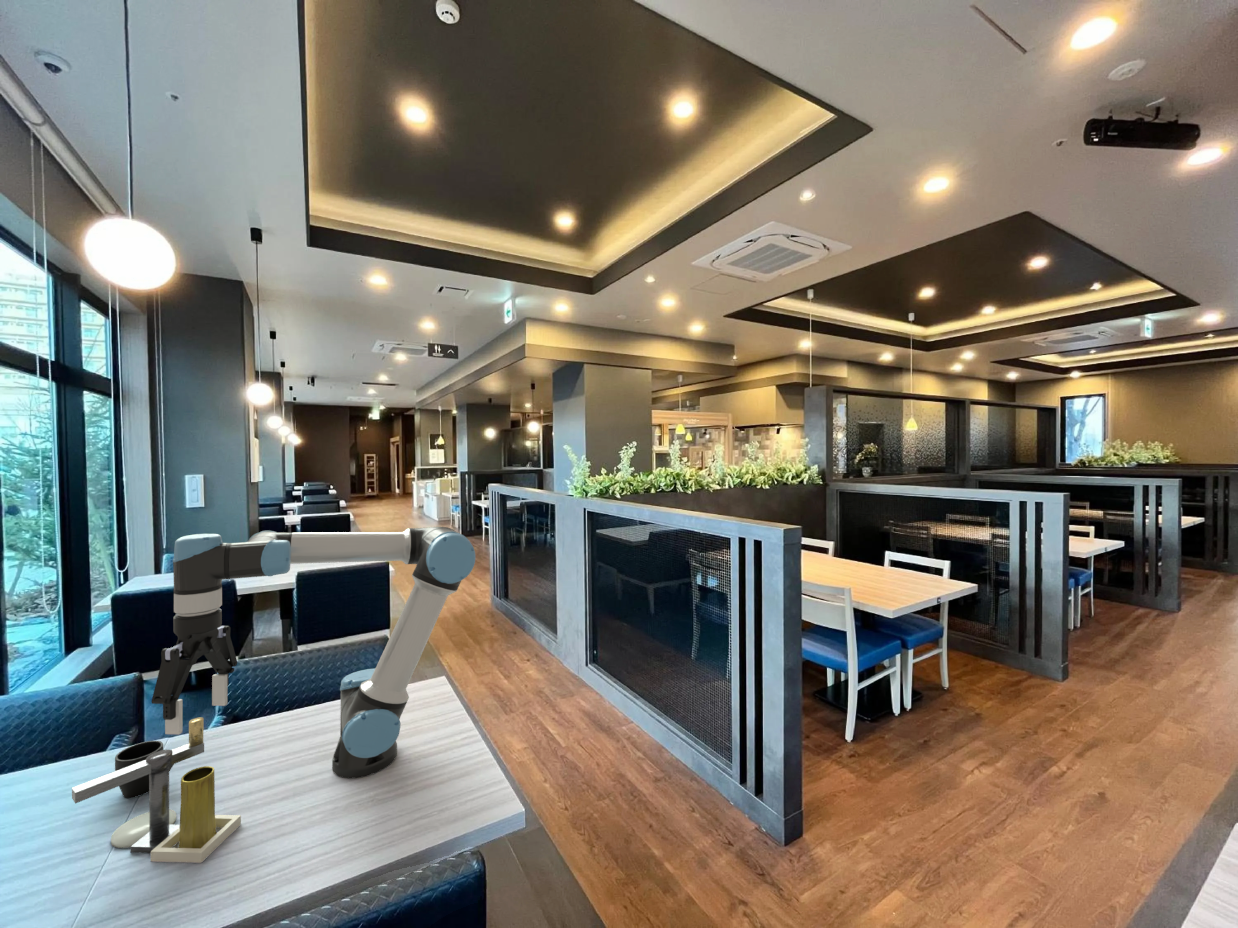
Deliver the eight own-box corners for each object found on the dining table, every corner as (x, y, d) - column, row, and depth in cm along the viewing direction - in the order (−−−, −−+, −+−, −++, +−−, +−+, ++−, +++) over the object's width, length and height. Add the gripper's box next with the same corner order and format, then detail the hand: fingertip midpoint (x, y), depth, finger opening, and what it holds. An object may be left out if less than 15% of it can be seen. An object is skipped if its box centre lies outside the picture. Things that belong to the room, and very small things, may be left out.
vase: (193, 831, 104) (193, 764, 104) (224, 830, 105) (224, 763, 105) (169, 854, 98) (169, 784, 98) (202, 853, 99) (202, 782, 99)
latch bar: (76, 804, 90) (76, 767, 90) (70, 796, 92) (70, 759, 92) (206, 752, 106) (206, 720, 106) (199, 746, 109) (199, 714, 108)
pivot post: (186, 830, 105) (186, 759, 104) (160, 853, 99) (160, 778, 98) (158, 829, 105) (158, 758, 104) (130, 852, 99) (130, 777, 98)
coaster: (188, 812, 110) (188, 809, 110) (145, 848, 100) (145, 844, 100) (144, 811, 110) (144, 808, 110) (96, 847, 100) (96, 843, 100)
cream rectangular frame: (240, 824, 107) (240, 815, 107) (201, 862, 97) (201, 852, 97) (194, 823, 107) (194, 814, 107) (150, 861, 97) (150, 851, 97)
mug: (157, 802, 113) (157, 761, 113) (104, 801, 113) (104, 760, 112) (188, 778, 121) (188, 740, 121) (138, 778, 121) (138, 739, 121)
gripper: (224, 594, 112) (224, 691, 113) (123, 630, 89) (123, 751, 90) (257, 595, 112) (257, 691, 112) (164, 630, 89) (164, 751, 90)
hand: (198, 718), depth 101 cm, fingers open, 10 cm apart
